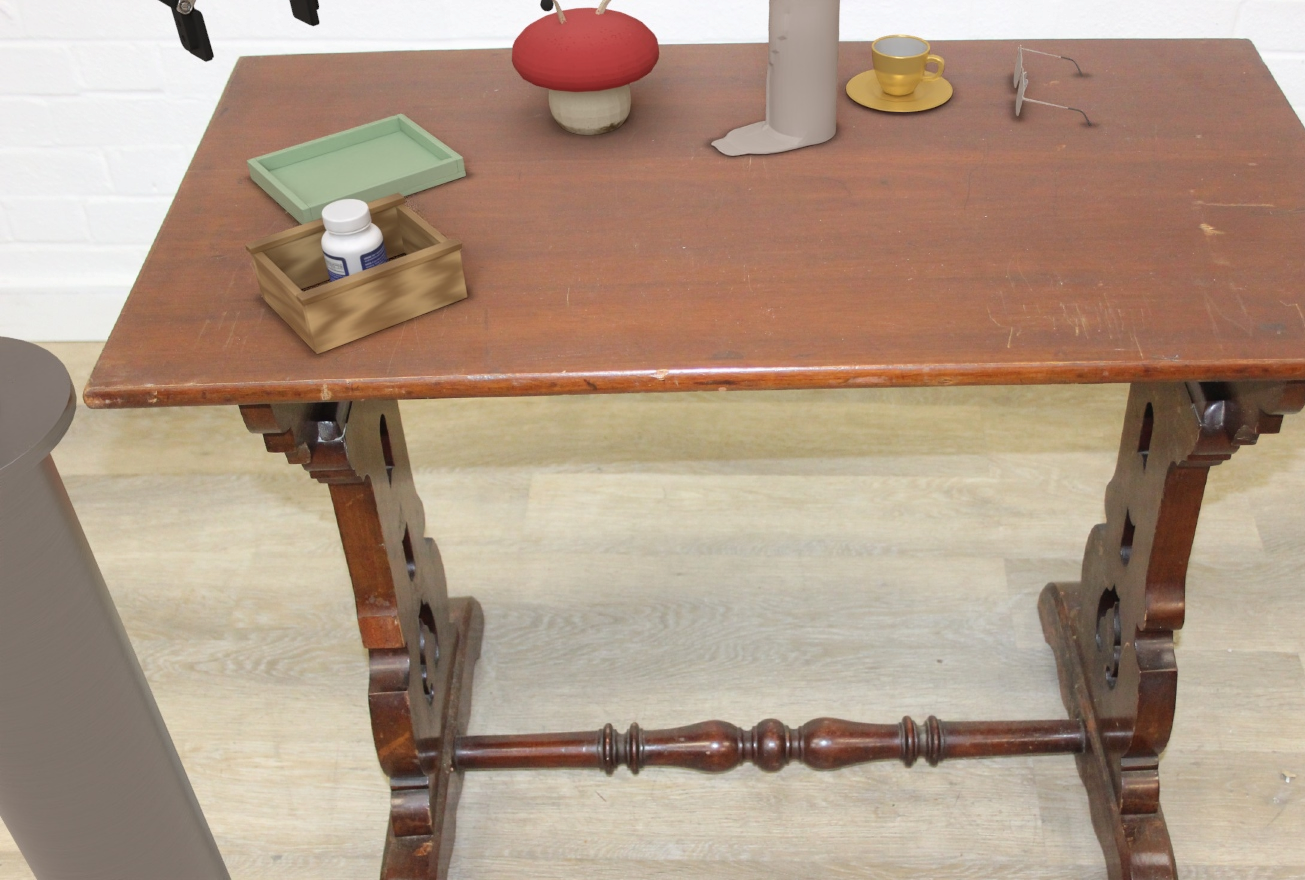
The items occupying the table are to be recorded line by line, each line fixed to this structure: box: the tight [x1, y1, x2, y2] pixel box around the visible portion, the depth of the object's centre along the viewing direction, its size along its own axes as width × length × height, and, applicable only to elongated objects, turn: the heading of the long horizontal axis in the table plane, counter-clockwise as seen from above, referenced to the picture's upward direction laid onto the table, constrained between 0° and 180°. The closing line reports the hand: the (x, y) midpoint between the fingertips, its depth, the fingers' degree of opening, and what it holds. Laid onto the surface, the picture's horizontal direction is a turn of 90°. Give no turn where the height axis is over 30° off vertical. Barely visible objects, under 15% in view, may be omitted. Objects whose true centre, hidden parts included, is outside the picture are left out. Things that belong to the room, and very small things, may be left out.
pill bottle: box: [321, 199, 389, 283], centre depth 123 cm, size 5×5×9 cm
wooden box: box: [244, 193, 468, 355], centre depth 124 cm, size 15×12×6 cm
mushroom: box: [511, 0, 660, 136], centre depth 149 cm, size 16×16×15 cm
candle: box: [710, 0, 841, 157], centre depth 144 cm, size 7×14×20 cm, turn 116°
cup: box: [845, 34, 954, 113], centre depth 157 cm, size 12×12×5 cm
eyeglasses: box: [1013, 44, 1093, 126], centre depth 156 cm, size 14×8×4 cm, turn 173°
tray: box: [246, 113, 467, 225], centre depth 144 cm, size 18×14×2 cm
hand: (255, 38), depth 115 cm, fingers open, 9 cm apart
